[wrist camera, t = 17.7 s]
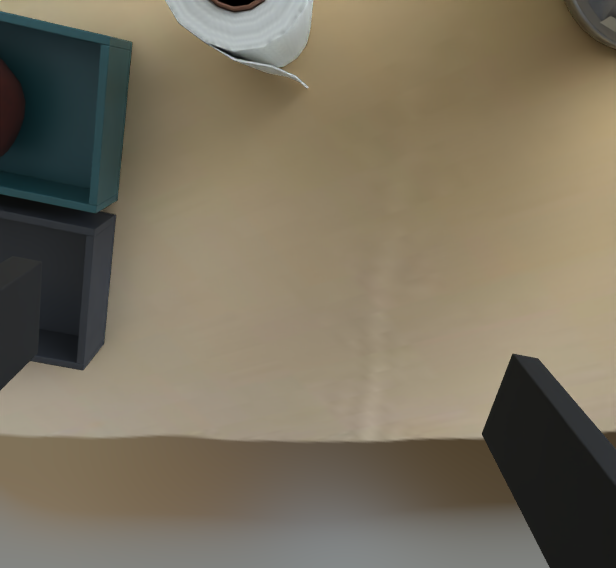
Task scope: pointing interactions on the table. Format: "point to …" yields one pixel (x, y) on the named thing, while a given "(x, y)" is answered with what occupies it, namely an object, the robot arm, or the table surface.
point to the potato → (10, 107)
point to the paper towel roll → (250, 29)
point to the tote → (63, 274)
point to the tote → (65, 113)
